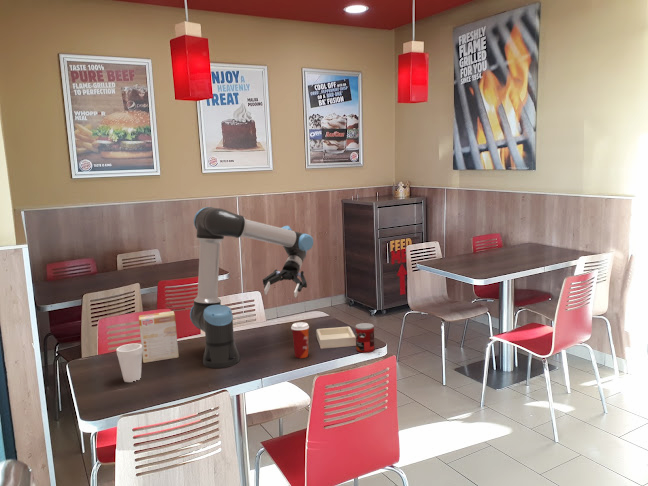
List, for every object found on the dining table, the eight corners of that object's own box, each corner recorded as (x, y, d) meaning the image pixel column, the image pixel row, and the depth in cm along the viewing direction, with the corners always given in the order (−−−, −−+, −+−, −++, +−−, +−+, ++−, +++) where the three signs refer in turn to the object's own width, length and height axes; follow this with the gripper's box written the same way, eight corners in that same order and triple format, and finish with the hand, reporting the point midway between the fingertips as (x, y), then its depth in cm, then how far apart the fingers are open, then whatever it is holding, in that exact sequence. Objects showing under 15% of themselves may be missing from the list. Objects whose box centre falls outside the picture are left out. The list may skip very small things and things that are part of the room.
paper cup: (310, 358, 222) (308, 326, 220) (292, 359, 222) (290, 327, 220) (311, 352, 230) (309, 321, 228) (293, 352, 230) (291, 322, 228)
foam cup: (136, 372, 215) (133, 341, 213) (149, 377, 209) (146, 346, 207) (115, 380, 208) (111, 348, 206) (127, 385, 202) (124, 353, 200)
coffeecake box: (177, 352, 237) (174, 310, 234) (179, 357, 230) (175, 314, 227) (142, 357, 232) (138, 315, 229) (143, 363, 225) (138, 319, 222)
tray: (320, 348, 234) (320, 340, 233) (316, 337, 250) (316, 329, 249) (356, 345, 236) (355, 337, 235) (350, 334, 252) (349, 326, 251)
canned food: (353, 348, 233) (352, 324, 231) (370, 345, 235) (369, 322, 234) (359, 354, 226) (359, 329, 224) (377, 351, 228) (376, 326, 226)
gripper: (318, 274, 246) (308, 302, 228) (267, 271, 251) (253, 298, 233) (317, 261, 242) (307, 288, 224) (265, 258, 247) (251, 284, 229)
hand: (279, 293), depth 229 cm, fingers open, 13 cm apart
